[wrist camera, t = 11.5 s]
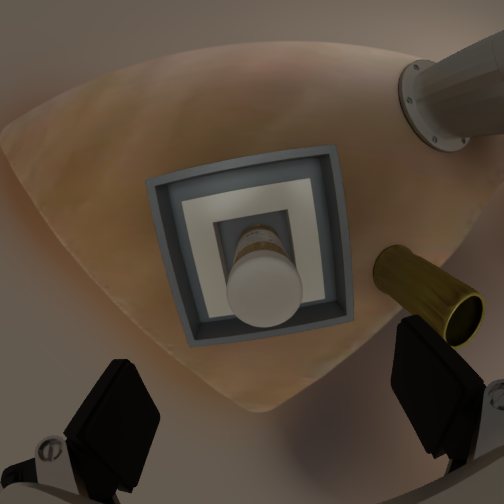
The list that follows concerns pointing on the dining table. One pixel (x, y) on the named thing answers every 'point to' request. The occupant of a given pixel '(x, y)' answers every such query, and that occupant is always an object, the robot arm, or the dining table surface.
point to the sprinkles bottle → (263, 279)
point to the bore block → (246, 204)
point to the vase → (430, 294)
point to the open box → (239, 177)
